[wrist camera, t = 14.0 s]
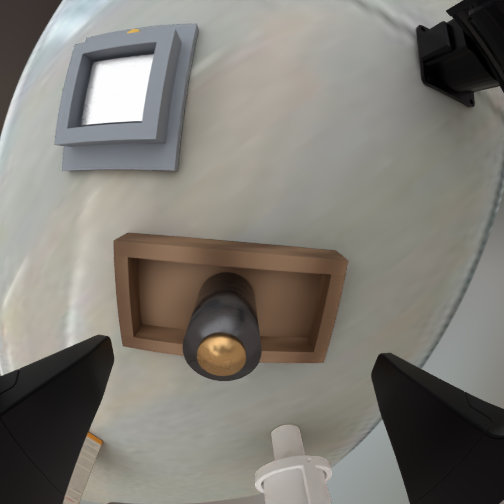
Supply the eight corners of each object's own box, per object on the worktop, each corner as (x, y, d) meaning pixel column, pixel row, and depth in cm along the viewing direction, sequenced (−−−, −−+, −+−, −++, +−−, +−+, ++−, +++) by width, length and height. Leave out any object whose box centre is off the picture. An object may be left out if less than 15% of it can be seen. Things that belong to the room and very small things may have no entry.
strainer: (263, 409, 23) (278, 551, 9) (328, 414, 24) (369, 536, 10) (244, 446, 25) (250, 563, 11) (303, 450, 26) (326, 556, 11)
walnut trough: (335, 250, 20) (348, 260, 17) (315, 344, 22) (323, 362, 19) (127, 232, 19) (113, 240, 16) (133, 329, 21) (122, 346, 18)
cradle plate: (158, 57, 14) (155, 54, 14) (146, 122, 15) (143, 120, 15) (97, 64, 14) (93, 62, 13) (85, 126, 15) (81, 125, 14)
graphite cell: (257, 274, 19) (267, 326, 12) (252, 325, 20) (257, 388, 13) (199, 269, 19) (179, 319, 12) (198, 320, 20) (182, 382, 13)
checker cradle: (198, 29, 15) (192, 8, 12) (177, 170, 18) (165, 169, 15) (91, 42, 14) (73, 27, 11) (69, 170, 17) (44, 171, 14)
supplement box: (73, 420, 24) (35, 494, 11) (104, 441, 25) (75, 518, 12) (61, 438, 25) (30, 499, 13) (88, 456, 26) (63, 519, 14)
